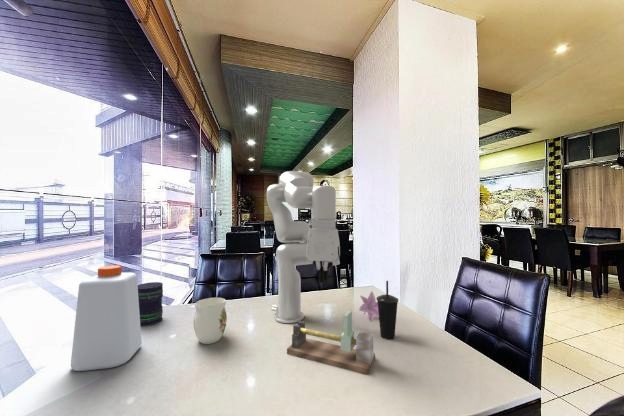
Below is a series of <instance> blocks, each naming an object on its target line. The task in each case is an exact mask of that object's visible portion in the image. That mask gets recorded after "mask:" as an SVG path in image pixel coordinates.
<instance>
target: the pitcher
mask: <svg viewBox="0 0 624 416" xmlns="http://www.w3.org/2000/svg"><path fill="white" fill-rule="evenodd" d="M226 302H227V301H226V299H225V298H223V297H207V298H203V299H200V300H198V301H196V302H195V303H194V306H195V313H194V316H193V330H194V333H195V336H196V338H197V340H199V342H200V343H201V344H203V345H204V344H205V345H208V344H209V345H211V344H214V343H217V342H218V341H220V340H221V338H222V337H223V334H224V333H225V330H226V327H227V320H228V317H227V315H228V314H227V312H226V311H227V310H226Z"/></svg>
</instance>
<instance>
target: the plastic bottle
mask: <svg viewBox="0 0 624 416" xmlns="http://www.w3.org/2000/svg"><path fill="white" fill-rule="evenodd" d="M137 285H138V276H137V274H136V273H135V272H123V267H122V265H106V266H101V267H98V268H97V275H94V276H91V277H88V278H86V279H84V280H82V281H81V282H80V283H79V284H78V292H77V300H76V311H75V320H74V327H73V328H74V330H73V339H72V351H71V356H70V357H71V359H70V368H71V369H72V370H73V371H76V372H85V371H94V370H95V371H96V370H102V369H103V370H104V369H111V368H116V367H119V366H122V365H123V364H126V363H127V362H128V361H130V359H132V357H133V356H134V355H135V354H136V352H138V351H139V349H140V347H141V346H142V330H141V329H142V328H141V326H140V314H139V300H138V286H137Z"/></svg>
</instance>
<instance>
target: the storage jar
mask: <svg viewBox="0 0 624 416" xmlns="http://www.w3.org/2000/svg"><path fill="white" fill-rule="evenodd" d="M137 286H138V300H139V314H140V327H148V326H152V325H156V324H159V323H160V322H162V321H163V312H164V310H163V296H164V293H163V292H164V290H163V288H164V287H163V286H164V285H163V282H160V281H159V282H158V281H154V282H152V281H151V282H145V283H141V284H137Z"/></svg>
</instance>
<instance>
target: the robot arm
mask: <svg viewBox="0 0 624 416" xmlns="http://www.w3.org/2000/svg"><path fill="white" fill-rule="evenodd" d="M314 183H315V182H314V177H313V175H312V174H311V173H310V172H308V171H298V170H297V171H296V170H295V171H294V170H289V171H288V170H287V171H284V172H283V173H282V174H281V175H280V177H279V183H273V184H270V185H269V186H268V187H267V188H266V189H267V190H266V201H267V205H268V207H269V210H270V212H271V214H272V218H273V224H274V229H275V234H276V235H275V236H276V239H277V240H278V242H280V243H283V244H280V245H279V246H278V247H277V248H276V251H275V257H276V263H277V279H278V287H277V288H278V291H277V292H278V294H277V295H278V297H277V299H278V300H277V303H278V304H272V305H271V311H272V312H275V314H274V320H275V321H277V322H278V323H283V324H294V323H298V322H299V321H303V320H304V318H305V314H304V312H303V311H301V308H302V306H301V302H302V299H301V298H302V297H301V293H302V292H301V291H302V290H301V274H300V272H299V271H298V270H297V268H296V266H303V265H312V264H313V265H314V266H315V267H316V270H317V271H318V272H317V273H318V274H317V279H318V282H319V284H321V283H322V284H325V283H327V282H328V281H329V279H330V277H329V273H330V271H329V270H330V269H331V268H332V267H333V266H338V265H340V264H341V262H340V257H341V246H340V244H341V243H340V237H339V231H338V229H337V228H336V218H337V217H336V211H337V210H336V205H337V204H336V203H337V200H336V199H337V197H336V188H335V187H334V186H333V185H316V186H314ZM284 203H287V205H288V206H290V207H291V208H294V209H300V210H301V209H306V210H307V209H311V220H308V222H307V221H301V220H300V221H299V220H298V221H295V220H294V219H293V217H292V216H293V215H292V212H291V209H289V208H288V207H287V206H286V205H285V204H284Z"/></svg>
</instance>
